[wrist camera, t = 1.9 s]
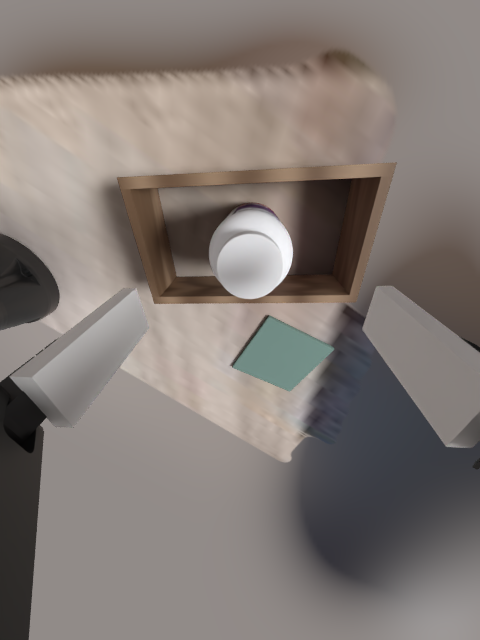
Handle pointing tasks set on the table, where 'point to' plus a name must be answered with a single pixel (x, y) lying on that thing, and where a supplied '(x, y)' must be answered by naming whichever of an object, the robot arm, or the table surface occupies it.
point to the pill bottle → (250, 251)
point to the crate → (337, 287)
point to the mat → (281, 354)
